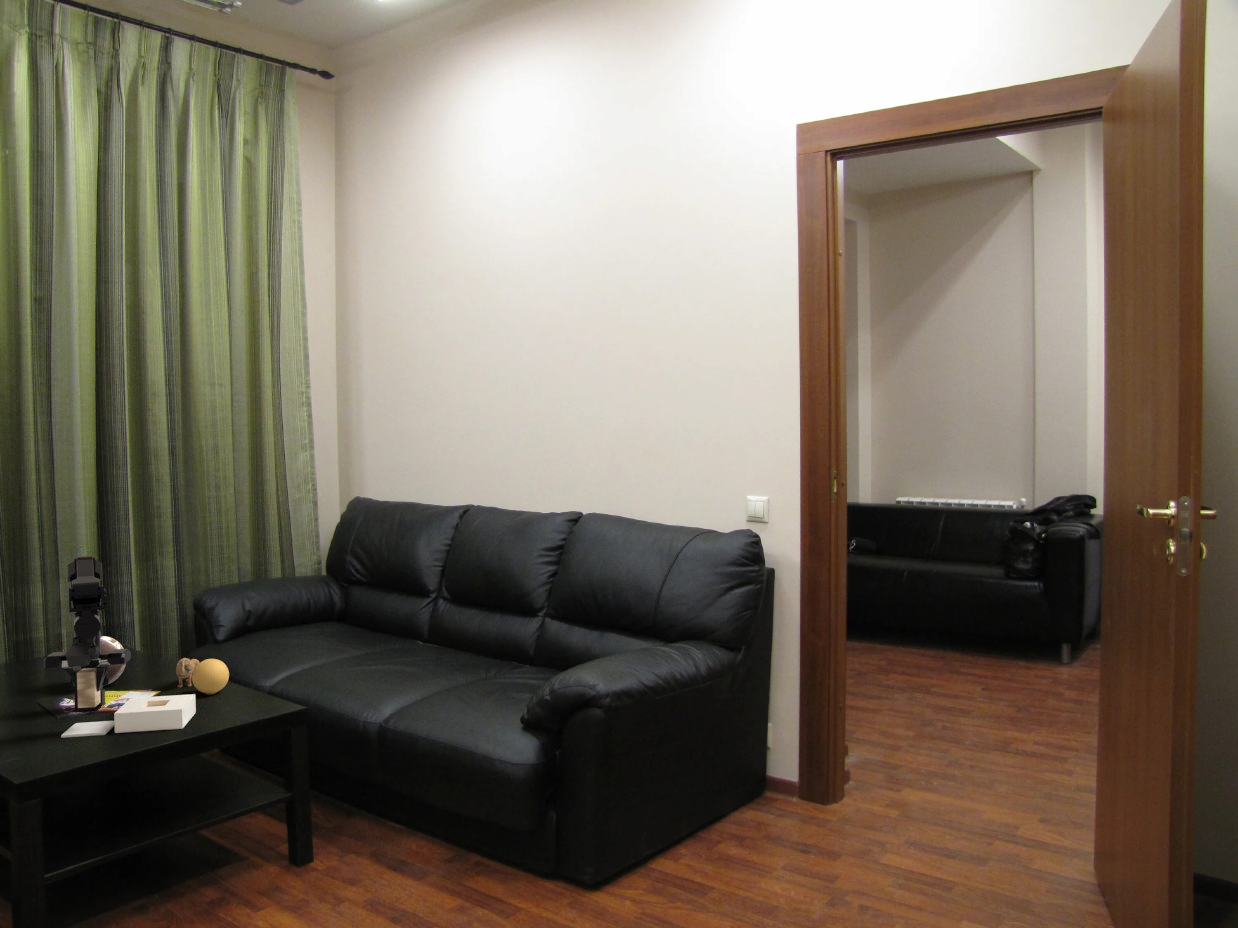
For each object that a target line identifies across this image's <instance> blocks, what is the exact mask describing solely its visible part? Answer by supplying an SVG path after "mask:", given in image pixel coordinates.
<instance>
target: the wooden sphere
mask: <svg viewBox="0 0 1238 928" xmlns="http://www.w3.org/2000/svg"><path fill="white" fill-rule="evenodd" d="M100 646H101V648H102V652H101V654H106V653H110V652H111V651H112V650H114V649H125V648H124V647H123V645H122V644H121V642H119V641H118V640H116V639H115V638H113V637H111V636H105V635H102V636H101V637H100ZM126 666H127V662H126V663H125V664H116V665H112V666H111V667H109V669H108V684H106V685H103V687H105V686H107V685H109V684H112V683H113V682H116V680H117V679H119V677H120V676H121V675H122V674H123V672H124V670H125V668H126Z"/></svg>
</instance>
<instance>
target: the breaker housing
mask: <svg viewBox="0 0 1238 928" xmlns="http://www.w3.org/2000/svg"><path fill="white" fill-rule="evenodd" d="M196 703H197V702H196V693H193V694H177V695H176V694H174V695H160V696H143V697H142V696H141V697H140V696H139V697H130V698H129V700H127V701H126V702H125V703H124V704H123V705H122V706H120V707H119V708H118V709H117V710H116V711H115V712H114V714H113V715H114V717H113V719H114V720H113V721H114V722H115V726H114V733H115V734H119V733H120V734H121V733H133V732H134V733H135V732H149V731H152V732H153V731H162V730H163V731H164V730H179V729H181V730H182V729H184V728H185V726H186V725H187V724H188V723H189V721H191V719H192V717H194V715H195V714H196V713H197V711H196V710H197V708H196V707H197V706H196V705H197V704H196ZM162 705H165V706H162ZM149 706H154V707H149Z"/></svg>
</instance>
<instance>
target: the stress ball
mask: <svg viewBox="0 0 1238 928" xmlns="http://www.w3.org/2000/svg"><path fill="white" fill-rule="evenodd" d="M199 662H200V663H198V664H197V665H196V667H195V668H194V670H193V672H192V677H191V683H192V685H194V687H195V689H196V690H198V691H199V692H201V693H203V694H206V695H208V696H209V695H215V694H216V693H218V692H219V691H221V690H222V689H224V688H225V686H226V685H227V684H228V682H229V677H230V672H229V668H228V666H227V664H225V663H224V661H222V660H219V659H216V658H208V659H206V658H205V659H204V660H202V661H199Z"/></svg>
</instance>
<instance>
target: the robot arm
mask: <svg viewBox="0 0 1238 928" xmlns="http://www.w3.org/2000/svg"><path fill="white" fill-rule="evenodd" d="M66 568H67V583H69V584H70V587H68V611H69V613H73V631H74V632H73V633H74V637H72V644H71V647H69V649H68V651H55V652H52V653H50V654H48V655H47V656H46V657H44V658H43V668H44V669H54V668H55V669H56V668H58V667H59V666H60V665H61V668H60V671H65V673H67V674H68V675H69V676H70V690H71V691H72V690H74V691H73V692H74V693H73V695H74V696H73V697H74V708H73V709H72V712H86V711H87V712H88V711H98V710H99V709H101V708H102V707H103V706H105V704H106V689H104V688H103V687H104V686H103V685H105V686H107V685H106V684H108V669H109V667H111V666H112V665H116V664H125V663H126V664H127V662H129V661H130V660H131V658H132V653H131V650H130V649H129V648H124V649H114V650H112V651H111V652H110V653H106V654H101V652H102V648H101V646H100V637H101V636H103V635H102V631H101V626H102V625H101V619H100V617H101V616H100V611H102V610H105V606H107V590H106V588H105V587H104V585H103V584H101V582H100V581H103V563H102V562H101V561H98V560H97V559H96V556H93V555H88V556H78V557H77V556H76V557H74V559H73V561H72V562H71V563H69V564H67V567H66ZM100 604H101V605H100ZM99 610H100V611H99ZM88 668H96V670H97V682H96V688H97V692H98V691H100V700H101V703H99V704H98V705H97V706H96V707H87V708H78V693H77V672H79V671H80V670H82V669H88ZM108 685H109V684H108ZM102 705H103V706H102ZM101 706H102V707H101ZM100 707H101V708H100Z"/></svg>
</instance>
